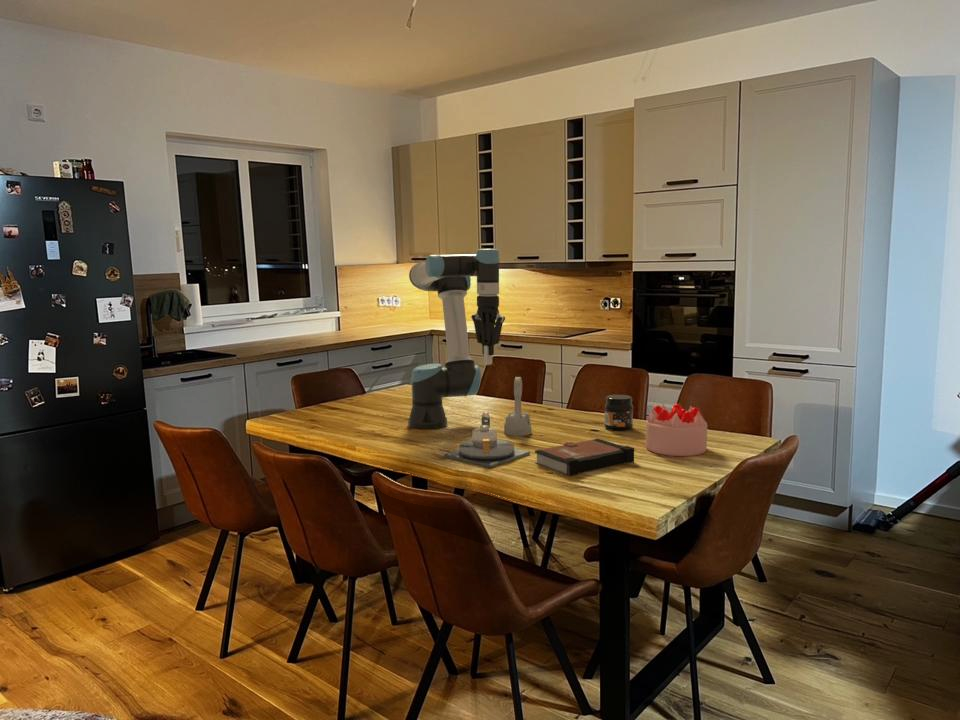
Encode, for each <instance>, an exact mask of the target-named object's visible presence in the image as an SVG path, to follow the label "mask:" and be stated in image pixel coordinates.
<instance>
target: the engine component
mask: <svg viewBox="0 0 960 720" xmlns="http://www.w3.org/2000/svg"><path fill="white" fill-rule="evenodd" d="M514 377H515V378H514V381H513V395H514V412H509V413H508V416H507V417H505V423H504V424H503V426H504V427H503V429H504V430H503V432H504V434H505V435H508V436H528V435H530V434H532V422H531V419H530V418H531V417H530V415H531V414H529V413H527V412H522V394H523V380H522V377H521V376H514Z"/></svg>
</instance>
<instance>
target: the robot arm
mask: <svg viewBox="0 0 960 720" xmlns="http://www.w3.org/2000/svg"><path fill="white" fill-rule="evenodd" d="M408 277H409V281H410V282H411V284H412V286H413V287H415V288H417V289H418V290H421V291H425V292H437V297H438V298H439V299H440V300H441V301H442V310H443V311H442V312H443V320H444V322H443V323H444V331H445V339H446V350H447V351H446V352H447V360H446V361H445V362H444V366H442V364H441V363H427V364H422V365H419V366H416V367H414V368H413V370H411V379H410V382H411V409H410V414H409V418H408V420H407V425H408V427H409V428H411V429H417V430H435V429H441V428H445V427H446V426H448V417H447V416H446V412H445V410H444V406H443V398H452V397H453V398H455V397H468V396H474V395H476V394H477V393H478V392H479V389H480V386H481V382H482V381H481V380H482V379H481V378H482V372H481V368H480V366H479V365H477V364H476V363H475V359H473V358H472V357H471V354H470V348H469V347H470V345H469V337H468V334H469V333H468V326H467V317H466V309H465V308H466V307H465V297H466V296H467V294H468V291H469V290H470V289H471V285H472V284H471V281H472V279H471V277H476V294H477V296H476V306H477V309H476V313H475V314H471V316H470V318H471V319H472V322H473V326H474V330H475V337H476V342H477V343H478V344H481V347H482V348H481V349H482V355H483V365H484V366H488V365H489V366H490V365H493V356H494V355H495V345H498V344H499V343H500V340H501V339H500V338H501V335H502V334H501V333H502V329H503V324H504V321H505V320H506V317H505V316H502V315H501V314H500V311H499V306H500V296H499V294H500V252H499V250H498V249H497V248H478V249H476V253H473V254H430V255H428V256H427V257H426V259H425V262H423V261H422V262H417V263H415V264H414V265H413V266H411V268H410V270H409V273H408Z"/></svg>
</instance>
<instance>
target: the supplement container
mask: <svg viewBox="0 0 960 720" xmlns="http://www.w3.org/2000/svg"><path fill="white" fill-rule="evenodd" d="M632 397H633V396H631V395H628V394H627V395H626V394H609V395H607V396H606V397H605V402H606V403H605V405H604V427H605V429H607V430H608V431H609V430H610V431H615V432H625V431H630V430H631V429H632V428H633V427H634V424H633V422H634V420H633V416H634V415H633V414H634V406H633V405H634V404H632V403H633V398H632Z"/></svg>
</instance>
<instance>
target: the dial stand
mask: <svg viewBox="0 0 960 720" xmlns="http://www.w3.org/2000/svg"><path fill="white" fill-rule="evenodd" d="M481 425H488V426H489V428H491V417H490V414H489V412H487V411H484V412H482V414H481Z"/></svg>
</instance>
